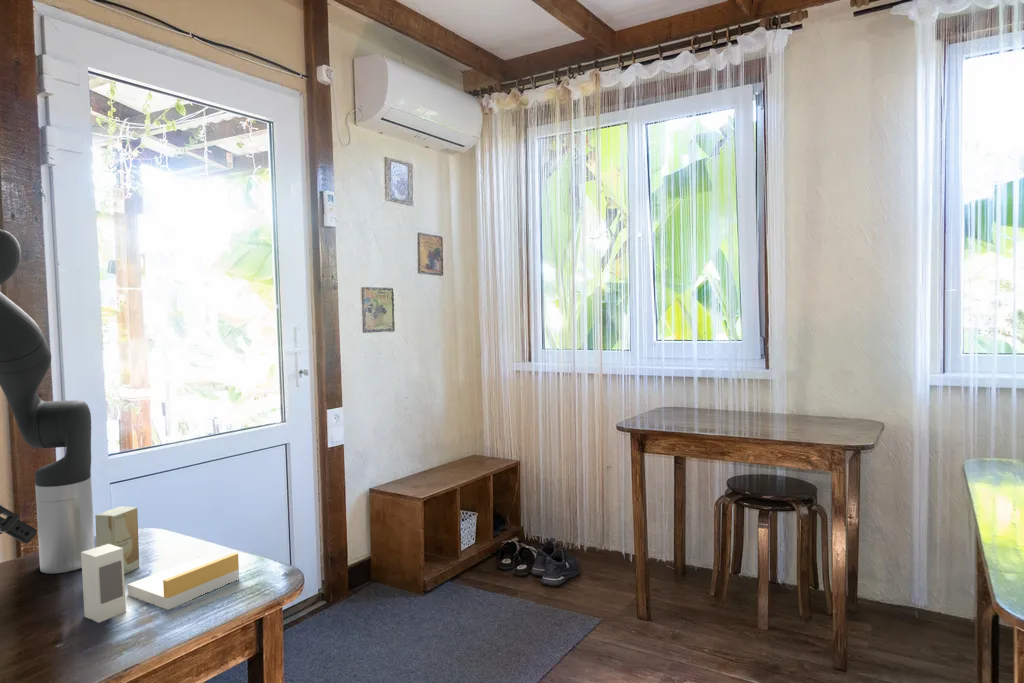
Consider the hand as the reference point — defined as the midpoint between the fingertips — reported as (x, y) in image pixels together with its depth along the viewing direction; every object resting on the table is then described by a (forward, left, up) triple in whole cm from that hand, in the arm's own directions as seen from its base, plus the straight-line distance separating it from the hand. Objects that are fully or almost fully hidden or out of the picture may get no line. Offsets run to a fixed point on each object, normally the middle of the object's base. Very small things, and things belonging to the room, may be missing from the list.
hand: (18, 532), depth 99 cm
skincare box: (-16, +23, -18) cm, 33 cm away
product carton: (0, +12, -18) cm, 21 cm away
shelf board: (+2, +25, -18) cm, 31 cm away
